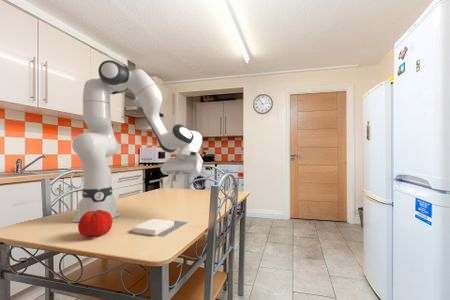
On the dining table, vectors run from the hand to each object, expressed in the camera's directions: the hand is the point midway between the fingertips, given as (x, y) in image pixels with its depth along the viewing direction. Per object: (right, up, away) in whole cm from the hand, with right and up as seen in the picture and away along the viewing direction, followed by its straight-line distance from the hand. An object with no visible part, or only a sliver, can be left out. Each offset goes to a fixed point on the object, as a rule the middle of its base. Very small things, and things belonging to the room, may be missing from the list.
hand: (174, 180), depth 103 cm
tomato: (-24, -18, -19) cm, 36 cm away
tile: (-3, -17, -8) cm, 19 cm away
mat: (-4, -17, -11) cm, 21 cm away
